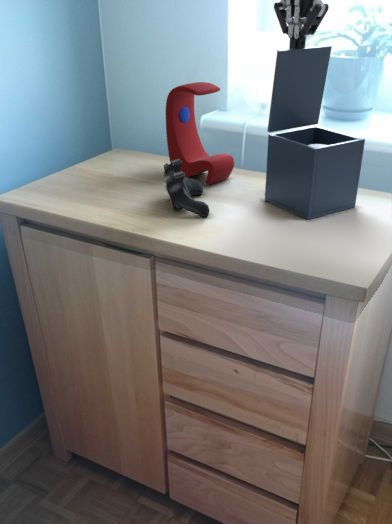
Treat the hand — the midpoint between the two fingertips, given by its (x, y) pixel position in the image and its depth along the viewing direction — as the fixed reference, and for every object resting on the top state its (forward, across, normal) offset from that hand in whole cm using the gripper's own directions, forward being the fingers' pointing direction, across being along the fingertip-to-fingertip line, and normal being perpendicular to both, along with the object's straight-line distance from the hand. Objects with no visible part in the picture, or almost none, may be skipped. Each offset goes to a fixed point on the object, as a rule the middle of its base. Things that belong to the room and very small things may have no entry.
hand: (296, 60), depth 106 cm
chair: (+26, -20, -9) cm, 34 cm away
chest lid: (+5, +2, 0) cm, 5 cm away
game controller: (+26, -6, -22) cm, 34 cm away
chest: (+26, +7, 0) cm, 27 cm away
